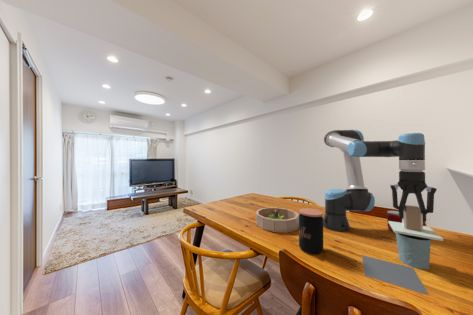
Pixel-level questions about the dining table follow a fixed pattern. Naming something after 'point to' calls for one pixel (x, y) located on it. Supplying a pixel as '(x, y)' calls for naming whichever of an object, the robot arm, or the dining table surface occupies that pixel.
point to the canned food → (393, 218)
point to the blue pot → (414, 250)
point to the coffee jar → (311, 230)
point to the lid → (414, 225)
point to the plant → (276, 215)
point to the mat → (393, 274)
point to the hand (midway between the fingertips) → (412, 227)
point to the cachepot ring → (277, 220)
